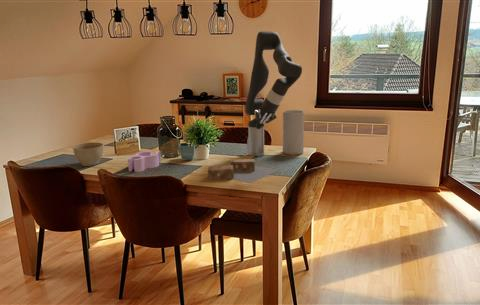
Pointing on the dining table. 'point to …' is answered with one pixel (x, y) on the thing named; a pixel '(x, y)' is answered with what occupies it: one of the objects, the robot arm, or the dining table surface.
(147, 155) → the clip
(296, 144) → the cylinder vase
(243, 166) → the two dot tile
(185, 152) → the flower pot
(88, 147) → the planter bowl
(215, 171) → the one dot tile
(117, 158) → the dining table surface
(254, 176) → the felt board
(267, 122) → the robot arm
